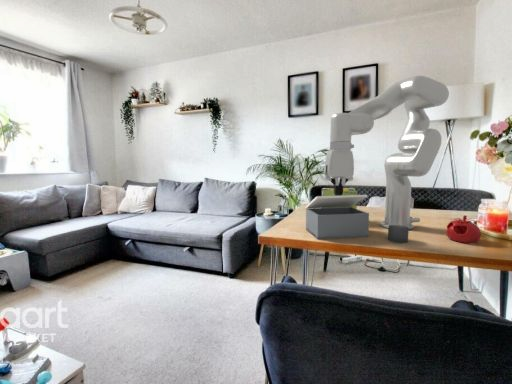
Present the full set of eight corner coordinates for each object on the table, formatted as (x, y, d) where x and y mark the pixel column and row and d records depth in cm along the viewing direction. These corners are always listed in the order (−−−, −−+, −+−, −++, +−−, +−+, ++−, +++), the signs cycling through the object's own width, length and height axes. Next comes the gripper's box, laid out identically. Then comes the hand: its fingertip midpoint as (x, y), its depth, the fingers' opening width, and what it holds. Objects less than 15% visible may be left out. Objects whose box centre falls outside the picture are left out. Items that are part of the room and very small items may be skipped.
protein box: (356, 224, 121) (357, 190, 119) (321, 222, 124) (322, 190, 122) (353, 219, 131) (353, 187, 130) (321, 218, 134) (321, 187, 133)
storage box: (350, 227, 115) (351, 207, 114) (368, 236, 101) (368, 213, 100) (305, 229, 113) (306, 208, 112) (317, 239, 99) (317, 215, 98)
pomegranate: (464, 236, 100) (466, 212, 99) (488, 244, 90) (490, 217, 89) (438, 236, 100) (440, 212, 99) (459, 245, 90) (461, 218, 89)
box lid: (351, 206, 114) (350, 205, 114) (367, 196, 101) (367, 194, 101) (306, 208, 112) (305, 206, 112) (316, 198, 98) (316, 196, 99)
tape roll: (400, 237, 100) (400, 224, 99) (412, 242, 94) (412, 228, 93) (384, 238, 99) (384, 225, 98) (395, 243, 93) (395, 229, 92)
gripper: (354, 148, 104) (352, 194, 106) (317, 147, 103) (316, 194, 105) (364, 147, 97) (361, 196, 99) (324, 146, 95) (323, 197, 97)
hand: (338, 195), depth 102 cm, fingers closed
